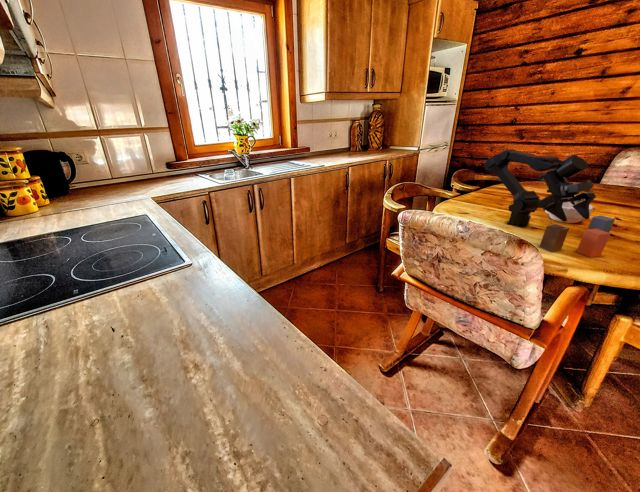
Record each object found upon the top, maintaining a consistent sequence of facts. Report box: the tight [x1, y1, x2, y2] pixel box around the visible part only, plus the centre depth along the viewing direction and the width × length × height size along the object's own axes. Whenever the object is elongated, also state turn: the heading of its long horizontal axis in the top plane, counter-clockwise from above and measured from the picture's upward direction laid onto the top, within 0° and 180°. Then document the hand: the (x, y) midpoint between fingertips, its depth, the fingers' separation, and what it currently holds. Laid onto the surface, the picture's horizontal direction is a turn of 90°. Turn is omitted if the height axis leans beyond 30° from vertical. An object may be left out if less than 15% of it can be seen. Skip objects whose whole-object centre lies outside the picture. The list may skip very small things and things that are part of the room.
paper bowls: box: [544, 202, 594, 224], centre depth 128 cm, size 15×15×8 cm
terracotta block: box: [575, 228, 611, 258], centre depth 99 cm, size 4×4×9 cm
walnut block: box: [538, 223, 570, 253], centre depth 104 cm, size 4×4×9 cm
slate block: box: [587, 215, 616, 233], centre depth 109 cm, size 4×4×9 cm
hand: (576, 220), depth 104 cm, fingers open, 9 cm apart
